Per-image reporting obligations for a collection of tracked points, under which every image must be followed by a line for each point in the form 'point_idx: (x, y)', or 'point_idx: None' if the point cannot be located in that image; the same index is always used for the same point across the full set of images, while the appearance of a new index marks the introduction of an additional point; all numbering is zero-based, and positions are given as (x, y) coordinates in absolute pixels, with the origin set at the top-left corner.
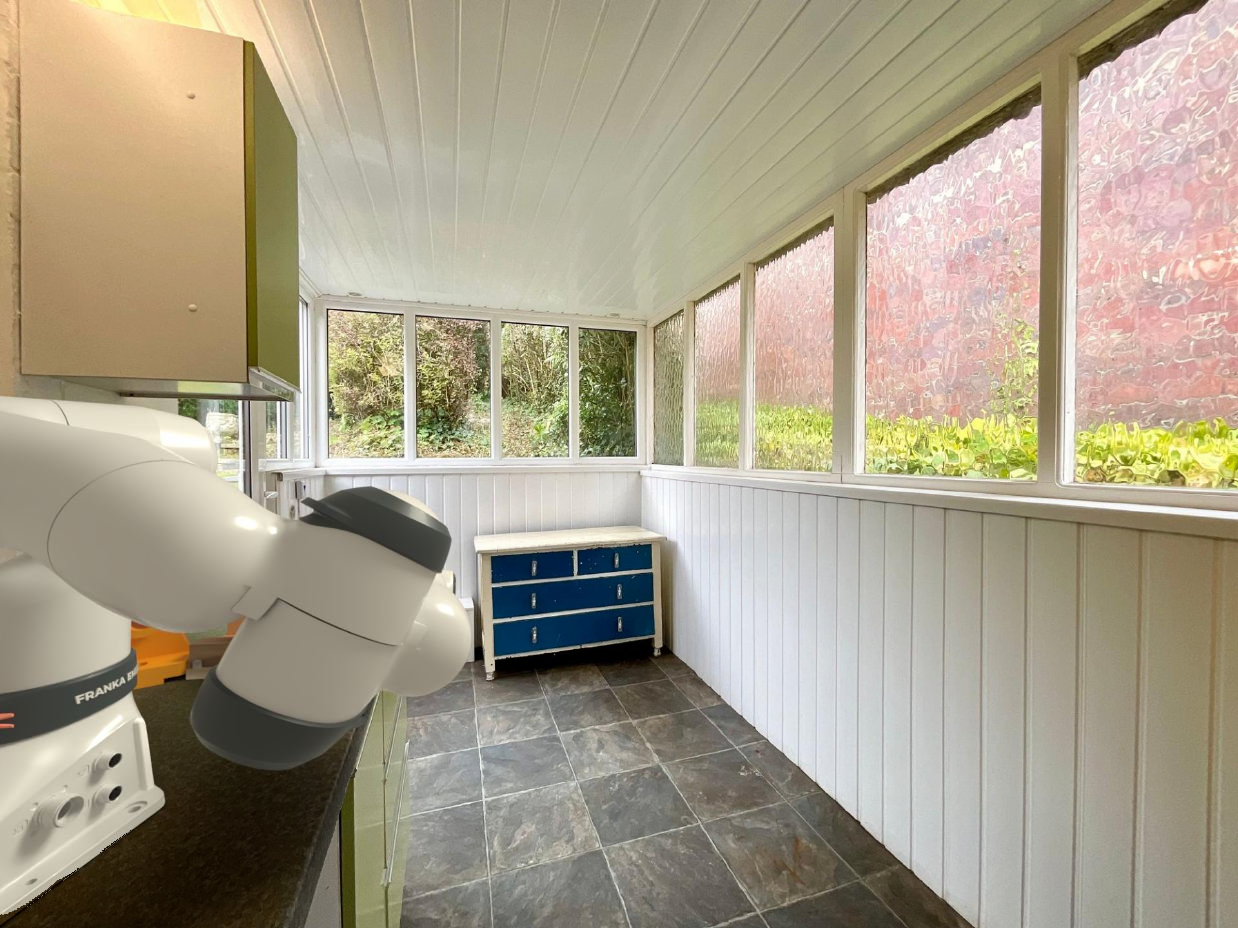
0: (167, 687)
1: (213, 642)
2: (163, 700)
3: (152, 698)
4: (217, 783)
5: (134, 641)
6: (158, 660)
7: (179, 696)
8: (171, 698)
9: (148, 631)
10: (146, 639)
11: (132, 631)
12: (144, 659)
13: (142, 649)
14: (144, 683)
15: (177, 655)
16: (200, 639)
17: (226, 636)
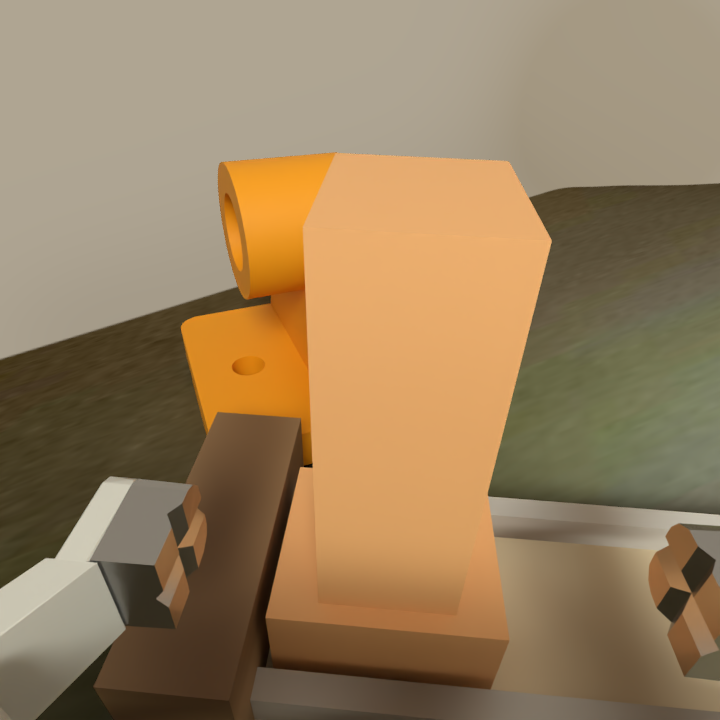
0: (171, 481)
1: (208, 476)
2: (51, 517)
3: (93, 482)
4: None
5: (289, 294)
6: (267, 386)
7: (56, 548)
8: (53, 532)
9: (242, 284)
10: (298, 306)
11: (233, 259)
12: (291, 358)
13: (297, 328)
14: (203, 421)
15: (299, 410)
16: (275, 419)
17: (312, 487)
